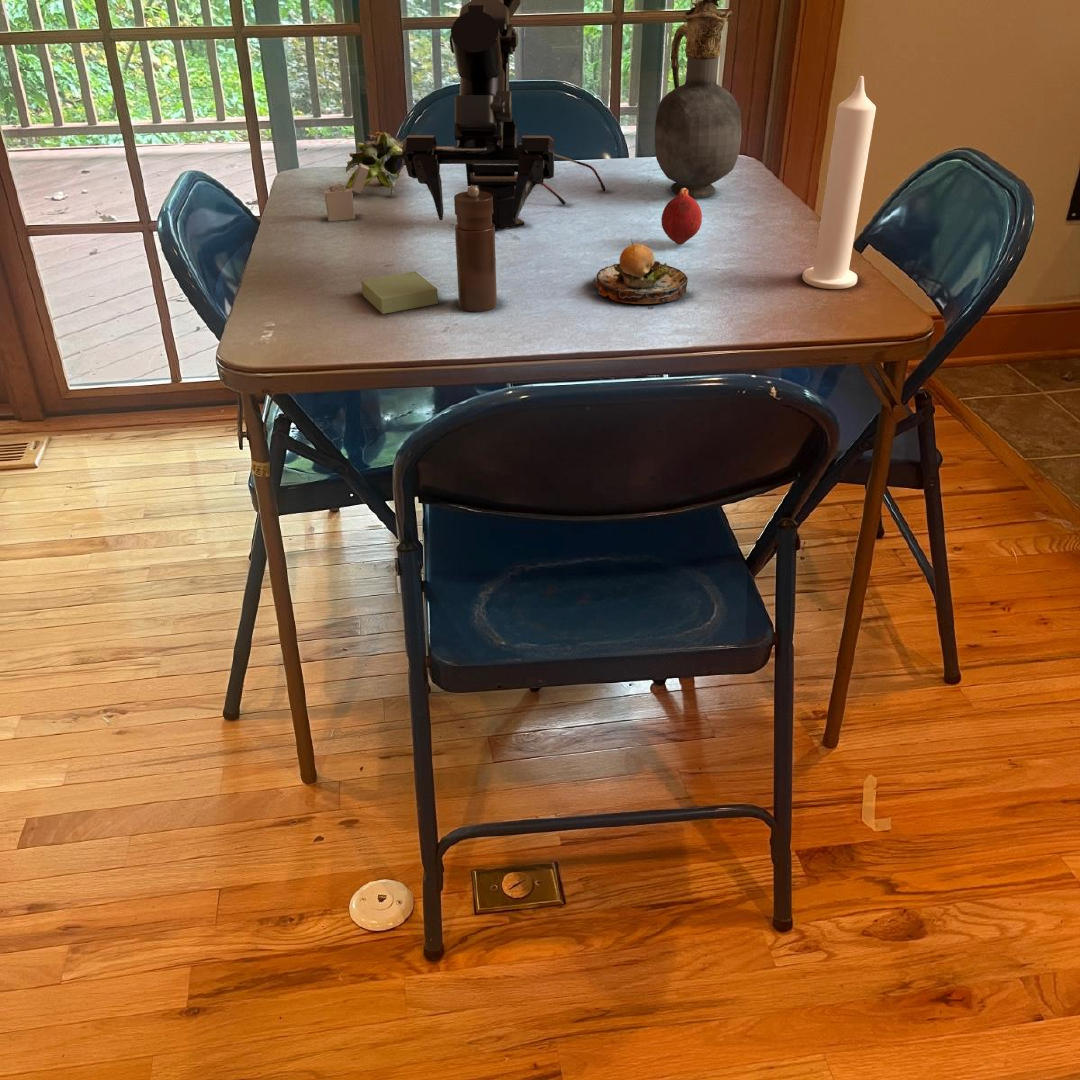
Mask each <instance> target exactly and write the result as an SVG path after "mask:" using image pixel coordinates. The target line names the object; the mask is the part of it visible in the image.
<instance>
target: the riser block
mask: <svg viewBox="0 0 1080 1080" xmlns="http://www.w3.org/2000/svg"><path fill="white" fill-rule="evenodd" d="M360 283H361V292H362V296H363V297H364V298H365V299H366V300H367V301H368V302H369V303H371V305H372V306H373V307H374V308H375V309H376V310H378V311H379V312H380V314H382V315H386V314H391V313H396V312H401V311H407V310H412V309H417V308H418V309H419V308H423V307H427V306H433V305H438V304H439V294H438V293H439V291H438V288H437V287H436V286H435V285H433V284H432V283H431V282H430V281H428V280H427V279H426V278H425V277H423V276H422V274H420V273H418V272H417V271H415V270H413V271H408V272H402V273H397V274H391V275H384V276H379V277H373V278H367V279H362V280H361V281H360Z"/></svg>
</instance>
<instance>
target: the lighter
mask: <svg viewBox="0 0 1080 1080" xmlns="http://www.w3.org/2000/svg"><path fill="white" fill-rule="evenodd" d="M356 170H357V172H356V175H355V178H354V181H353V184H352V186H351V189H346V188H345V184H344V182H342V183H341V182H339V183H332V184H330V185H329V187H328V189H325V190H324V200H325V208H326V215H327V220H328V222H337V221H338V222H339V221H348V220H349V221H350V220H355V219H356V214H355V213H356V212H355V206H354V205H355V203H354V195H353V192H354V193H356V194H357V195H358V194H359V195H361V193H362V190H363V188H364V186H363V185H364V182H365V180H366V177H367V174H368V171H369V167H368V166H366V165H363V164H361V163H360V164H359V165H358V167H357V168H356Z"/></svg>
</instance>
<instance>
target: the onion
mask: <svg viewBox="0 0 1080 1080" xmlns="http://www.w3.org/2000/svg"><path fill="white" fill-rule="evenodd" d="M688 191H689V190H687V189H686V188H682V189H681V191H680V192H679V194H678V195H676V196H674V197H673V198H671V199H670V200H669V201H668V203H667V204H666V205H665V207H664V208H663V210H662V214H661V217H660V218H661V219H660V220H661V227H662V230H663V232H664V233H665V235H666V236H667V237H668V238H669V239H670V240H671V241H673V242H674V244H676V245H679V246H682V245H685V243H686V242H688V241H689V240H691V239H692V238H693V237H694V236H696V235H697V234H698V232H699V230H700V229H701V226H702V223H703V222H702V221H703V212H702V209H701V207H700V205H699V203H698V202H697V200H695V198H692V197H690V196H689V195H688Z"/></svg>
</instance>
